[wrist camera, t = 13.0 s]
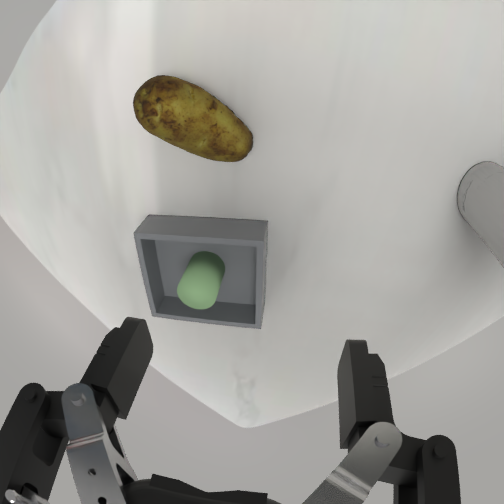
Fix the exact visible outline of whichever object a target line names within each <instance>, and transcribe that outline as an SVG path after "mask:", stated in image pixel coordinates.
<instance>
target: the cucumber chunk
mask: <svg viewBox="0 0 504 504" xmlns="http://www.w3.org/2000/svg"><path fill="white" fill-rule="evenodd" d="M224 273H225V264H224V262H223V260H222V259H221V258H220V257H219V256H218V255H216V254H215V253H212V252H209V251H201V252H197V253H196V254H194V255H193V256H192V258H191V260H190V262H189V264H188V266H187V268H186V270H185V272H184V274H183V276H182V278H181V280H180V282H179V284H178V287H177V294H178V297H179V298H180V300H181V301H182V302H183V303H184V304H186V305H187V306H189V307H191V308H194V309H207V308H210V307H211V306H212V305H213V304H214V303H215V301H216V298H217V295H218V291H219V288H220V285H221V282H222V279H223V276H224Z"/></svg>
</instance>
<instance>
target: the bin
mask: <svg viewBox="0 0 504 504" xmlns="http://www.w3.org/2000/svg"><path fill="white" fill-rule="evenodd" d="M267 224H268V221H260V220H244V219H227V218H208V217H188V216H166V215H148V216H147V217H146V219H145V220H144V221H143V222H142V223H141V225H140V226H139V227H138V228H137V229H136V231H135V232H134V238H135V243H136V248H137V253H138V258H139V262H140V267H141V271H142V276H143V280H144V285H145V289H146V293H147V297H148V301H149V305H150V309H151V313H152V316H154V317H161V318H168V319H175V320H183V321H191V322H199V323H207V324H216V325H226V326H235V327H245V328H256V329H261V326H262V319H263V311H264V303H265V278H266V252H267ZM201 251H209V252H212V253H215V254H216V255H218V256H219V257H220V258H221V259H222V260H223V262H224V264H225V273H224V276H223V279H222V282H221V285H220V288H219V291H218V295H217V298H216V301H215V303H214V304H213V305H212V306H211V307H210V308H207V309H194V308H191V307H189V306H187V305H186V304H184V303H183V302H182V301H181V300H180V298H179V297H178V294H177V287H178V284H179V282H180V280H181V278H182V276H183V274H184V272H185V270H186V268H187V266H188V264H189V262H190V260H191V258H192V256H193V255H194V254H196V253H197V252H201Z"/></svg>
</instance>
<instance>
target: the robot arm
mask: <svg viewBox="0 0 504 504" xmlns="http://www.w3.org/2000/svg"><path fill="white" fill-rule="evenodd" d="M458 207H459V210H460V213H461V215H462V216H463V217H464V219H465V220H466V221H467V222H468V223H469V224H470V226H471V227H472V228H473V229H474V230H475V232H476V233H477V234H478V235H479V237H480V238H481V239H482V240H483V242H484V243H485V244H486V245H487V246H488V248H489V249H490V250H491V252H492V253H493V254H494V255H495V257H496V258H497V259H498V261H499V262H500V263H501V265H502V266H503V267H504V168H503V167H501V166H499V165H498V164H496V163H493V162H482V163H479V164H477V165H475V166H474V167H472V168H471V169H470V170H469V171H468V172H467V174H466V175H465V176H464V178H463V180H462V182H461V184H460V187H459V190H458ZM152 354H153V343H152V340H151V336H150V333H149V330H148V326H147V323H146V321H145V320H144V319H138V318H132V317H127V318H126V319H125V320H124V322H123V324H122V325H121V327H120V328H117V327H115V328H114V329H113V330H111V331H110V332H109V333H108V334H107V335H106V336H105V338H104V340H103V341H102V343H101V346H100V347H99V348H98V350H97V354H95V356H94V357H93V359H92V361H91V363H90V365H89V366H88V368H87V370H86V372H85V374H84V376H83V378H82V379H81V381H80V383H76V384H73V385H71V386H69V387H68V388H67V389H66V390H65V391H45V389H44V388H43V387H42V386H41V385H40V384H38V383H30V384H27V385H25V386H24V387H23V388H22V389H21V390H20V392H19V394H18V396H17V398H16V400H15V402H14V404H13V406H12V408H11V410H10V412H9V414H8V416H7V418H6V420H5V422H4V424H3V426H2V428H1V430H0V504H49V502H48V499H49V496H50V493H51V490H52V486H53V484H54V481H55V477H56V475H57V472H58V469H59V466H60V463H61V460H62V458H63V455H64V452H65V450H66V451H67V455H68V459H69V463H70V467H71V471H72V474H73V478H74V481H75V484H76V488H77V491H78V494H79V497H80V500H81V503H82V504H280V503H278V502H276V501H274V500H271V499H268V498H267V495H268V494H267V493H258V492H248V491H240V490H237V491H224V492H204V491H202V490H200V489H197V488H195V487H193V486H191V485H189V484H186V483H184V482H182V481H180V480H176V479H172V478H168V477H164V476H159V475H156V474H152V478H151V479H144V480H138V478H137V476H136V474H135V472H134V470H133V469H132V467H131V465H130V464H129V461H128V459H127V457H126V454H125V451H124V449H123V446H122V443H121V441H120V438H119V435H118V432H117V429H116V426H115V424H114V423H115V421H116V418H117V417H118V418H122V419H126V418H127V416H128V413H129V411H130V408H131V406H132V403H133V401H134V398H135V396H136V393H137V391H138V389H139V386H140V384H141V381H142V379H143V377H144V374H145V372H146V369H147V367H148V365H149V362H150V360H151V358H152ZM337 378H338V398H339V423H340V449H348V455H347V456H346V457H345V458H344V459H343V461H342V462H341V463H340V464H339V465H338V467H337V468H336V469H335V470H334V471H332V473H331V474H330V475H329V476H328V477H327V478H326V479H325V480H324V481H323V482H322V483H321V484H320V486H319V487H318V488H317V489H316V490H315V491H314V492H313V493H312V494H311V495H310V496H309V497H308V498H307V499H306V500H305V502H303V503H302V504H362V503H363V502H364V501H365V499H366V498H367V496H368V494H369V492H370V490H371V489H372V487H373V486H374V485H375V483H376V482H377V481H382V482H386V483H391V484H394V504H461V497H460V484H459V474H458V464H457V456H456V449H455V446H454V444H453V442H452V441H451V440H450V439H449V438H448V437H446V436H443V435H435V436H432V437H430V438H429V439H427V440H423V439H418V438H414V437H410V436H407V435H405V434H403V433H402V432H400V430H399V429H398V428H397V427H396V426H395V424H394V420H393V415H392V408H391V401H390V395H389V389H388V383H387V378H386V371H385V366H384V363H383V362H382V360H381V359H380V357H379V356H378V354H368V347H367V342H366V340H346V342H345V346H344V349H343V352H342V355H341V359H340V362H339V366H338V375H337ZM69 440H70V444H68V441H69ZM67 444H68V445H67Z"/></svg>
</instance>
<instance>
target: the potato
mask: <svg viewBox="0 0 504 504" xmlns="http://www.w3.org/2000/svg"><path fill="white" fill-rule="evenodd" d="M133 106H134V112H135V115H136V118H137V120H138V121H139V123H140V124H141V125H142V126H143V128H144V129H146V130H147V131H148V132H149V133H151V134H153V135H155V136H157V137H159V138H160V139H162V140H164V141H166V142H168V143H170V144H172V145H174V146H177V147H179V148H181V149H184V150H186V151H187V152H190V153H193V154H195V155H198V156H201V157H204V158H207V159H211V160H215V161H224V162H236V161H240V160H242V159H243V158H245V157H246V156H247V154H248V153H249V152H250V151H251V149H252V146H253V135H252V133H251V132H250V131H249V129H248V128H247V126H246V125H244V123H243V122H242V121H241V120H240V119H239V118H237V117H236V116H235V115H234V113H233V111H231V110H230V109H229V108H228V107H227V106H225V105H223V104H222V103H221V102H220V101H219V100H217V99H216V98H215V97H214V96H212V95H211V94H209V93H208V92H207V91H205V90H204V89H202V88H201V87H199V86H197V85H194V84H191V83H189V82H186V81H184V80H182V79H179V78H176V77H172V76H165V75H160V76H156V77H153V78H151V79H149V80H148V81H146V82H145V83H144V84H143V85H142V86H141V87H140V88H139V89H138V90H137V92H136V94H135V96H134V101H133Z"/></svg>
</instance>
